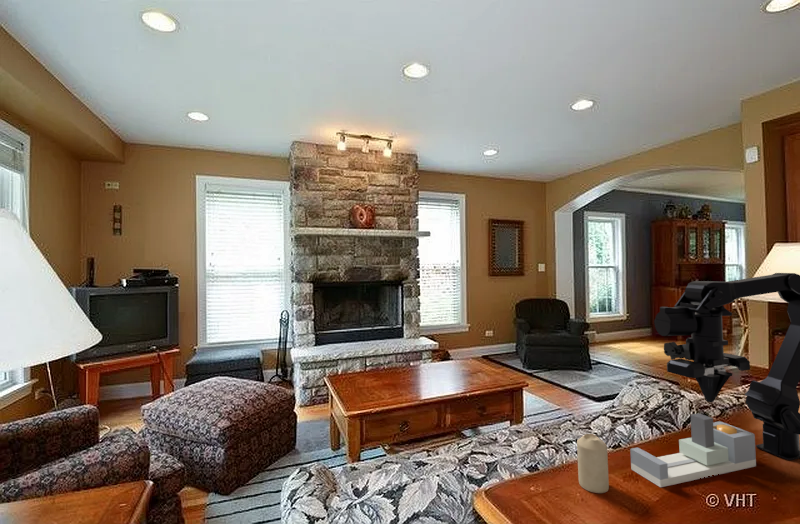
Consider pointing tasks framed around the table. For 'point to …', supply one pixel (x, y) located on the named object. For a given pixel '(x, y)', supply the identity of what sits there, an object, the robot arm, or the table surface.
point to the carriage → (703, 442)
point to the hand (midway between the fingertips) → (709, 401)
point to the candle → (592, 464)
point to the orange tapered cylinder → (727, 429)
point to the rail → (689, 469)
